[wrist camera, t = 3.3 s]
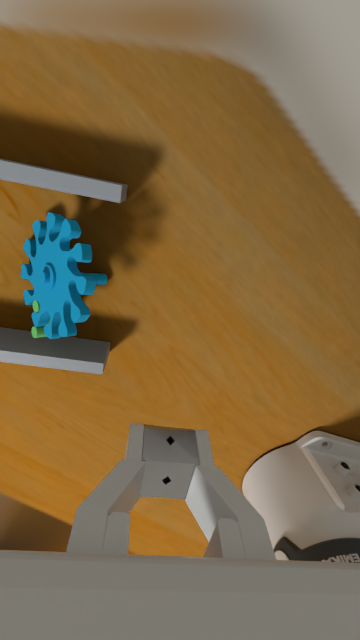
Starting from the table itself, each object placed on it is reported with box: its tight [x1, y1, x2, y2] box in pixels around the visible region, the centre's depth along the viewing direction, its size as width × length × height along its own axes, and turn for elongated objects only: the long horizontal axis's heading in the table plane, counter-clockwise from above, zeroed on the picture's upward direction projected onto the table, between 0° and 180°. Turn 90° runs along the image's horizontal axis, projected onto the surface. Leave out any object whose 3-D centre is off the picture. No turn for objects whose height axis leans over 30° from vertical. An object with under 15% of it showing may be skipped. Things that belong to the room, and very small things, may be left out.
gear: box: [21, 212, 108, 339], centre depth 26 cm, size 11×6×10 cm
